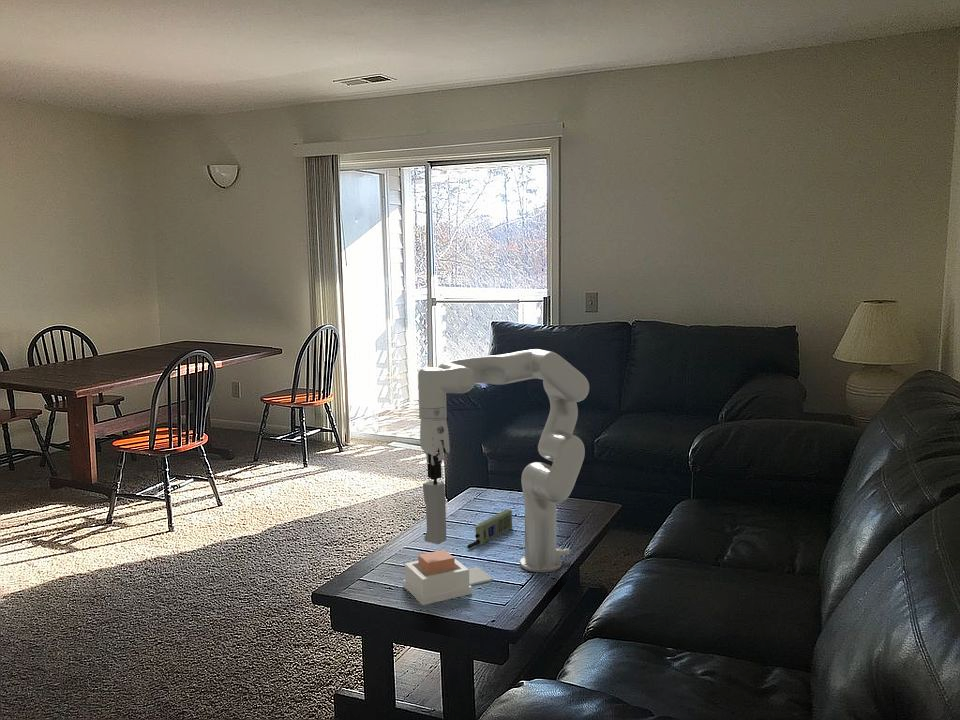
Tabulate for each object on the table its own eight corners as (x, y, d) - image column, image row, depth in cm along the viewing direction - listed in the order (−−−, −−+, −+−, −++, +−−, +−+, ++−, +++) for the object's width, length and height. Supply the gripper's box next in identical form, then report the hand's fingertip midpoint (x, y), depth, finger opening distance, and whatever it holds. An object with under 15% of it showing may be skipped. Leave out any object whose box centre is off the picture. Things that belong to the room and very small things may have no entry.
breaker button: (444, 559, 231) (443, 549, 230) (454, 567, 225) (454, 557, 224) (418, 565, 227) (418, 554, 227) (428, 573, 221) (428, 563, 221)
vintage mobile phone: (432, 537, 228) (429, 451, 225) (446, 540, 225) (444, 454, 222) (424, 541, 225) (421, 454, 222) (438, 544, 222) (435, 457, 219)
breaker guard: (450, 576, 236) (449, 553, 235) (471, 593, 224) (471, 569, 223) (403, 586, 230) (402, 563, 229) (422, 605, 217) (421, 580, 216)
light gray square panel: (477, 568, 242) (477, 566, 242) (493, 580, 233) (493, 578, 233) (447, 575, 237) (447, 573, 237) (462, 587, 228) (462, 585, 228)
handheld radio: (514, 528, 276) (473, 551, 256) (506, 527, 278) (464, 550, 258) (513, 509, 276) (472, 531, 255) (505, 508, 277) (463, 530, 257)
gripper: (457, 416, 215) (458, 482, 217) (433, 406, 228) (435, 469, 231) (431, 419, 211) (433, 486, 214) (409, 409, 225) (411, 473, 227)
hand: (434, 477), depth 222 cm, fingers closed on vintage mobile phone, 1 cm apart
